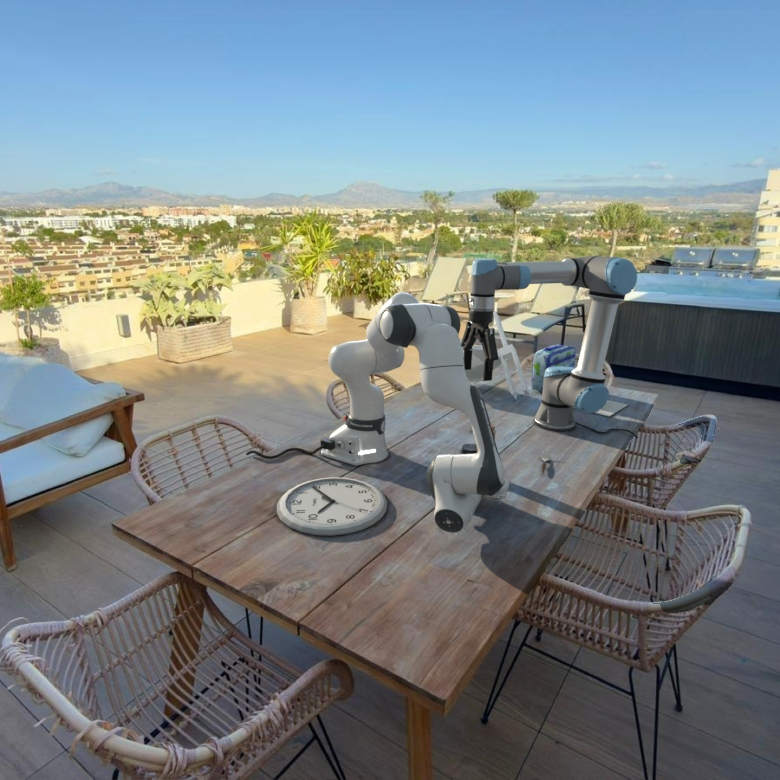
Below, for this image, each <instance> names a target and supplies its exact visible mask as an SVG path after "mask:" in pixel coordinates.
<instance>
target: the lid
mask: <svg viewBox="0 0 780 780" xmlns="http://www.w3.org/2000/svg"><path fill="white" fill-rule="evenodd" d="M475 453H477V445H476V443H464V444H462V445H461V454H475Z"/></svg>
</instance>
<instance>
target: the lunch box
mask: <svg viewBox="0 0 780 780" xmlns="http://www.w3.org/2000/svg"><path fill="white" fill-rule="evenodd" d="M576 357H577V355H576V347H575V346H569V345H565V344H554V345H550V346H547V347H544V348H542V349H541V348H540V349H539V350H537V351H536V352H535V353H534V356H533V360H532V367H531V368H532V369H531V382H530V383H531V386H530V387H531V389H532V390H533V391H537V392H542V391H543V381H544V374H545V370H546V369H547V368H549V367H556V366H565V367H574V368H575V364H576Z"/></svg>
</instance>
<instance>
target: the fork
mask: <svg viewBox="0 0 780 780" xmlns="http://www.w3.org/2000/svg"><path fill="white" fill-rule="evenodd" d="M541 460H542V461H543V463H542V465H541V474H544V473H545V469H546V468H547V463H546V462H548V461H550V460H551V452H549V451H547V450H544V449H543V450H542V455H541Z"/></svg>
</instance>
